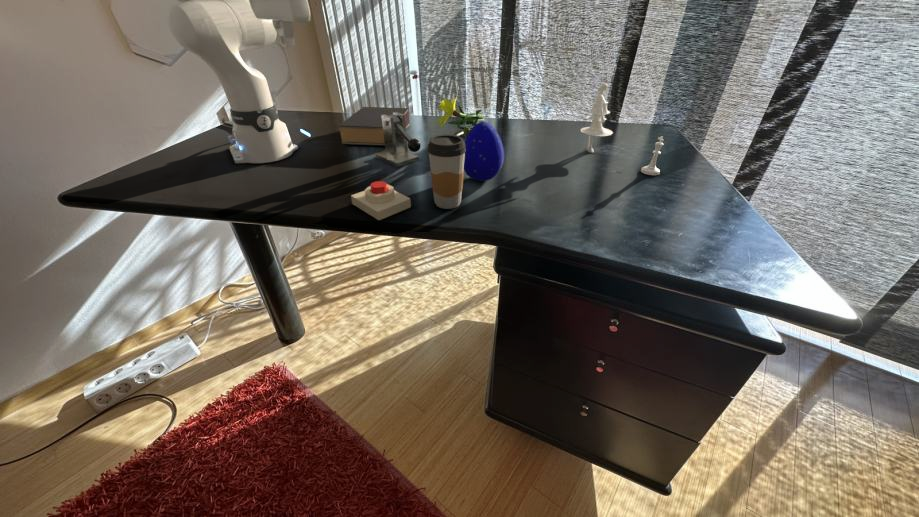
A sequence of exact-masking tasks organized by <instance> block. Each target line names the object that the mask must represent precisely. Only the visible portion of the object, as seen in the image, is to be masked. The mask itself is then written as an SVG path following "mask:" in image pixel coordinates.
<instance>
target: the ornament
mask: <svg viewBox="0 0 919 517" xmlns="http://www.w3.org/2000/svg"><path fill="white" fill-rule="evenodd" d="M472 127H473V128H472ZM472 127H471V128H472V129H471V130H470V132H469V133H468V135H467V137H466V139H465V138H464V143H465V145H466V146H465V148H466V152H465V158H464V173H466V175H467V176H468V177H469V178H470V179H472V180H474V181H477V182H486V181H489V180H492V179H494V177H496V176H497V175H498V173H499V172H500V171H501V170H502V167H503V166H504V162H505V157H506V156H505V148H504V146H503V141H502V139H501V136H500V135H499V132H498V131H497V130H496V128H495V127H494V126H493V125H492V124H490V123H489V122H487V121H485V122H484V121H483V122H477V124H476V125H475V126H472Z"/></svg>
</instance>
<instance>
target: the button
mask: <svg viewBox="0 0 919 517" xmlns="http://www.w3.org/2000/svg"><path fill="white" fill-rule="evenodd" d="M387 185H388V183H387V182H386V181H382V180H380V181H379V180H378V181H374V182H373V181H372V182H371V183H370V186H371V192H372V193H373V194H383V193H386V192H387Z"/></svg>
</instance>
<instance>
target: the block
mask: <svg viewBox="0 0 919 517" xmlns="http://www.w3.org/2000/svg"><path fill="white" fill-rule="evenodd" d="M350 200H351V204H352V205H353V206H355V207H356V208H358V209H359V210H361V211H363V212H365V213H366V214H368V215H369V216H371V217H372V218H374V219H375V220H377V221H381V220H383V219H386V218H389V217H392V216H393V215H395V214H398V213H400V212H402V211H405V210H408V209H410V208H412V202H411V198H410V197H408V196H406V195H404V194H402V193H400V192H398V191H396V190H395V189H394V186H392V185H390V184H387V192H386V193H383V194H373V193H372V192H371V185H369V186H367V187H366V188H365V189H364V190H363V191H360V192H356V193H354V194H351V195H350Z"/></svg>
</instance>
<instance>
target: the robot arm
mask: <svg viewBox="0 0 919 517" xmlns="http://www.w3.org/2000/svg"><path fill="white" fill-rule="evenodd" d="M177 2H178V3H175V4H172V5H170V7H169V8H168V12H167V23H168V28H169V30H170V33H171V35H172V36H173V37H174V39H175V41H176V42H178V44H179V45H180V46H182V48H184V50H187V51H188V52H190V53H192V54H193V55H195V56H197V57H198V58H200V59H201V60H202V61H204V62H205V63H206V65H208V67H209V68H210V69H211V70H212V71H213V73H215V75H216V77H217V79H218V80H219V82H220V84H221V87H222V90H223V92H224V95H225V96H226V100H227V102H228V104H229V107H230V108H229V112H230V113H229V114H230V117H231V121H232V122H233V124H231V123H227V122H226V118H225V117H222V118H221V122H222V124H223V125H225V126H227V127H232V129H231V134H230V135H227V136H226V137H227V140H228V142H229V144H230V146H229V147H228V149H229V152H230V154H231V156H232V159H233V161H234V163H235V164H265V163H273V162H278V161H282V160H284V159H286V158H288V157H290V156H292V154H293V153H294V152H295V151H297V150H299V147H298V145H297V144H294V143H293V142H292V138H291V136H290V133H289V130H288V127H287V125H286V123H285V122H283V121H282V120H280V119H279V118H280V116H279V111H278V108H277V106H276V104H274V101H273V98H272V94H271V92H270V88H269V84H268V81H267V78H266V76H265V75H264V74H263V73H262V72H261V71H259V70H258V69H256V68H254V67H252V66H249V65H248V64H246V62H245V61H244V59H243V58H242V56H241V53H240V52H243V51H252V50H260V49H262V48H265V47H267V46H270V45H272V44H274V43H275V42H276V40H277V36H278V39H279V42H280V45H281V46H283V47H287V48H294V47H295V45H296V44H295V39H294V32H295V25H294V23H308V22H311V16H312V15H311V9H310V5H309V0H177ZM299 131H300V132H301V133H302V134H304V135H306V136H308V137H309V138H310V137H311V133H309V132H308V131H305V130H304V129H302V128H300V130H299ZM231 144H232V145H231Z"/></svg>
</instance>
